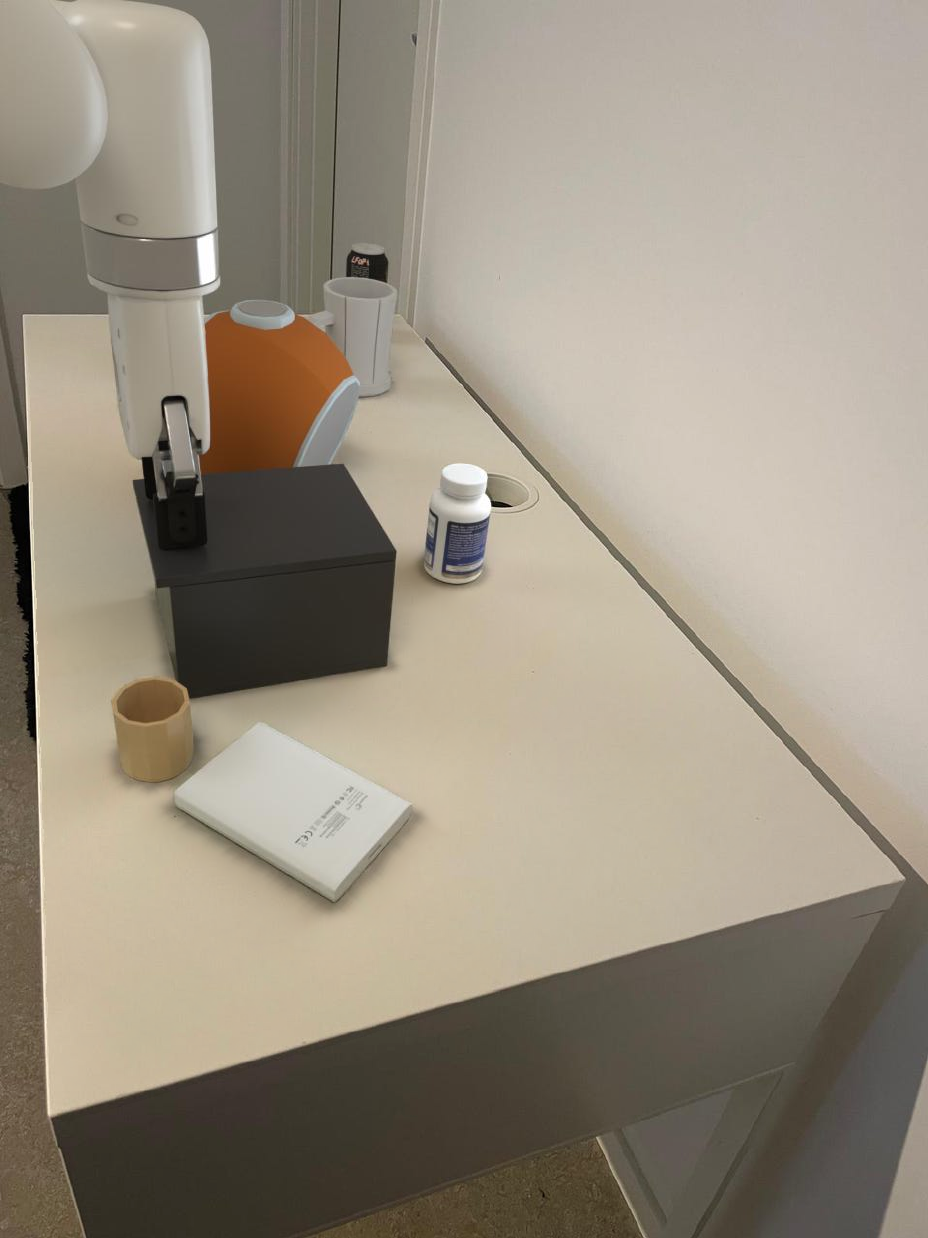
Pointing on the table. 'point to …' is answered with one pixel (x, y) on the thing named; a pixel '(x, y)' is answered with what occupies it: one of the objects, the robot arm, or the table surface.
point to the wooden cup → (153, 728)
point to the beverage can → (367, 262)
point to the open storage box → (278, 627)
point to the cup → (361, 327)
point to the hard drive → (294, 809)
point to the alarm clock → (274, 390)
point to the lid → (270, 526)
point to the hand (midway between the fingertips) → (175, 517)
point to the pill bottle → (458, 525)
